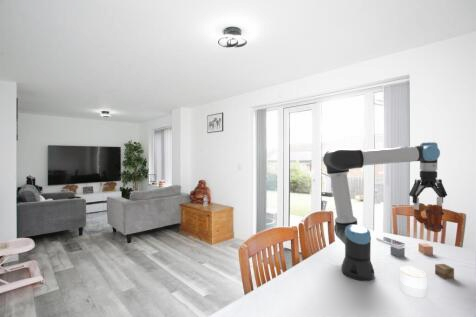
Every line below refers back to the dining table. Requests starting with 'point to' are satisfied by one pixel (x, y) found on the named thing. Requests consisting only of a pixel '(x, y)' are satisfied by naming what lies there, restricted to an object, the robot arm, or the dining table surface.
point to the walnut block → (444, 271)
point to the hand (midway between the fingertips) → (427, 209)
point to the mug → (430, 217)
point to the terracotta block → (425, 249)
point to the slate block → (397, 251)
